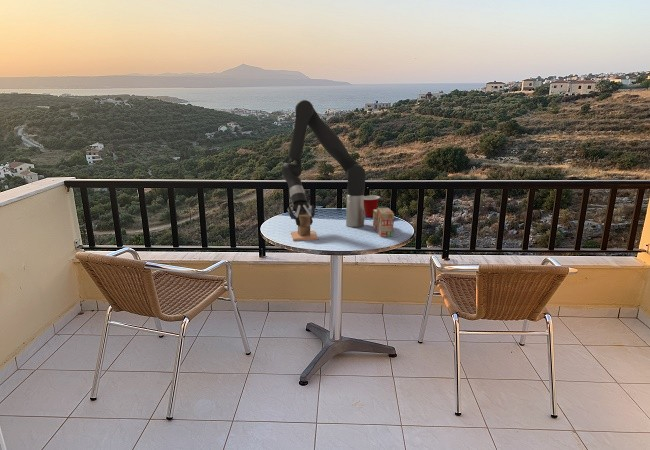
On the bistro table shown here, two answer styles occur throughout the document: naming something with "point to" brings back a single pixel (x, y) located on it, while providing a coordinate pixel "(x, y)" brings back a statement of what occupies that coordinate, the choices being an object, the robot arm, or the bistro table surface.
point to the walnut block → (304, 224)
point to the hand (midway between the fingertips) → (305, 224)
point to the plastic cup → (370, 204)
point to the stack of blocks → (383, 221)
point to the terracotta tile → (297, 237)
